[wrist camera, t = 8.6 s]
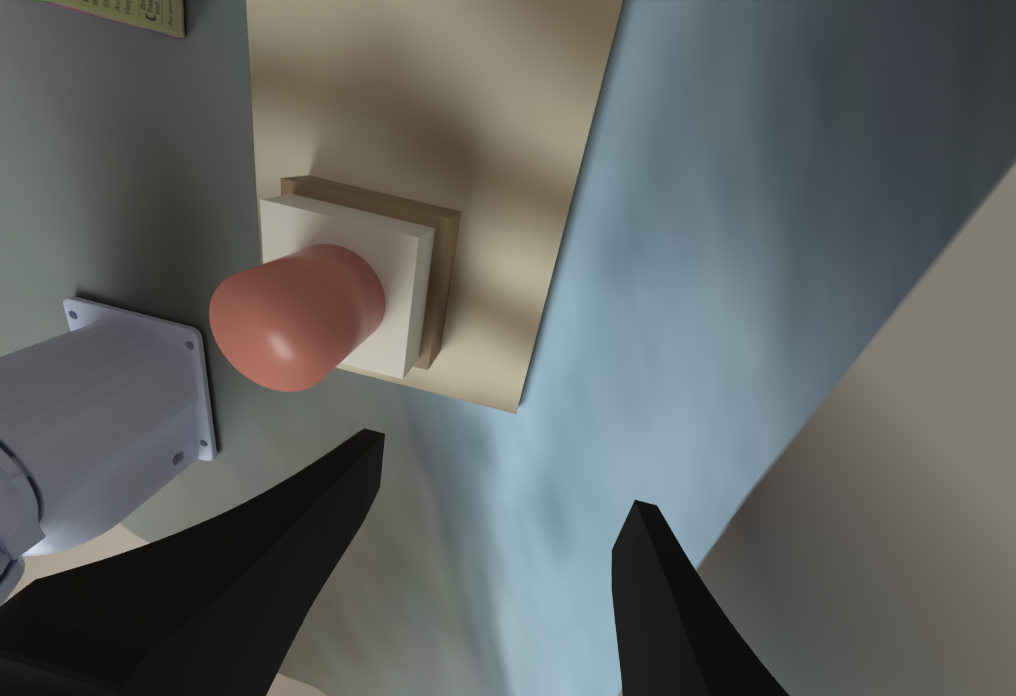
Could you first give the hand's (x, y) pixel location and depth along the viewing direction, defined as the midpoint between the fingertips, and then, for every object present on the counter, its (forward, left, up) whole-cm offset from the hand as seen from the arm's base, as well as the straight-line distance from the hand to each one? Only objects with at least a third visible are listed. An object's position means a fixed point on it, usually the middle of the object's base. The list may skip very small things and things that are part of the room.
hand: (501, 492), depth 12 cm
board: (+8, +7, -10) cm, 15 cm away
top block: (+2, +8, -8) cm, 11 cm away
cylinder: (+2, +8, -6) cm, 10 cm away
